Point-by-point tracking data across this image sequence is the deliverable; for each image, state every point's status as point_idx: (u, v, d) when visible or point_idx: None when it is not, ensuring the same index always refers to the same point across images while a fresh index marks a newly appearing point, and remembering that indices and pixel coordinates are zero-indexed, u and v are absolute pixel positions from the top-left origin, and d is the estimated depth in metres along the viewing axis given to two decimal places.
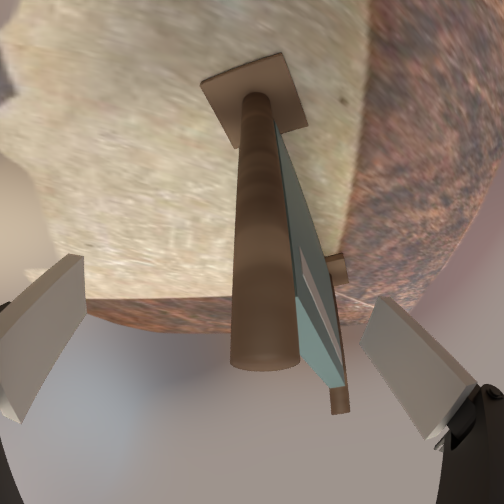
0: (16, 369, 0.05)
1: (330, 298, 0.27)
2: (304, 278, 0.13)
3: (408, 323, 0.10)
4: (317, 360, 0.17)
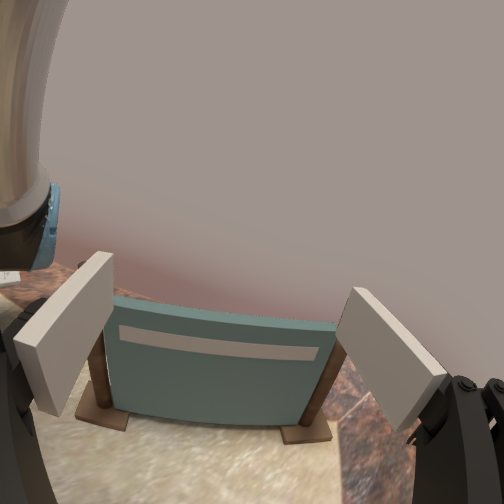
0: (57, 362, 0.06)
1: None
2: None
3: (379, 313, 0.10)
4: (207, 315, 0.23)
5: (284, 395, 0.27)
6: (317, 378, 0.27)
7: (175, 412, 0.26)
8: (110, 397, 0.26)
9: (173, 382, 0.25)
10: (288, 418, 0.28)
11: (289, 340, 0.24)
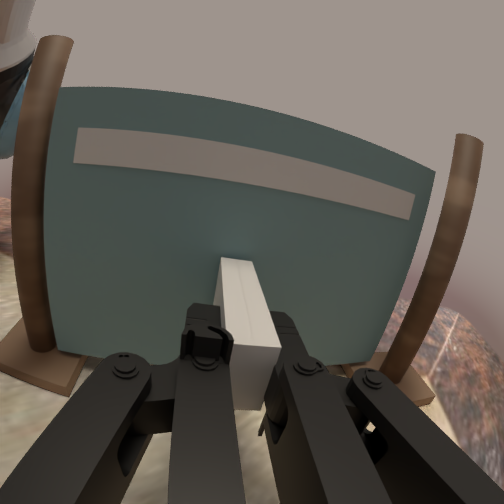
0: None
1: None
2: None
3: (243, 281, 0.11)
4: None
5: (365, 294, 0.16)
6: (409, 260, 0.16)
7: (170, 348, 0.15)
8: (49, 328, 0.13)
9: (170, 266, 0.13)
10: (361, 348, 0.18)
11: (380, 170, 0.14)
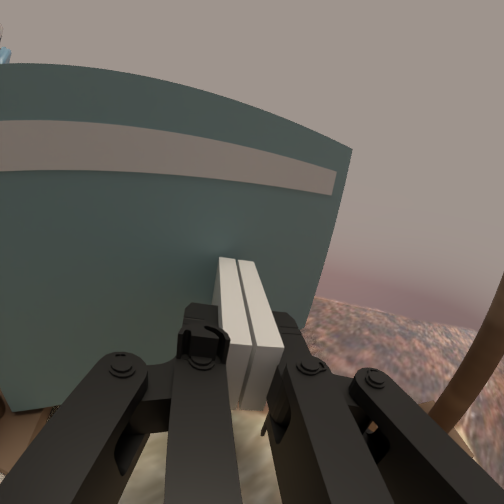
0: None
1: None
2: None
3: (245, 282, 0.11)
4: None
5: (298, 268, 0.18)
6: (331, 231, 0.20)
7: None
8: None
9: (122, 282, 0.10)
10: (297, 318, 0.21)
11: (310, 152, 0.15)
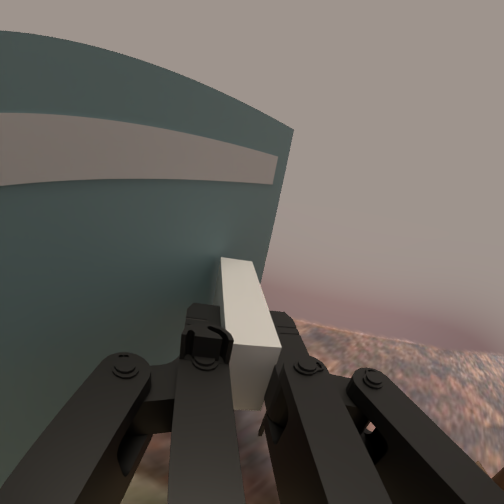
0: None
1: None
2: None
3: (243, 281, 0.11)
4: None
5: None
6: (272, 224, 0.18)
7: None
8: None
9: (35, 341, 0.06)
10: None
11: (252, 135, 0.12)
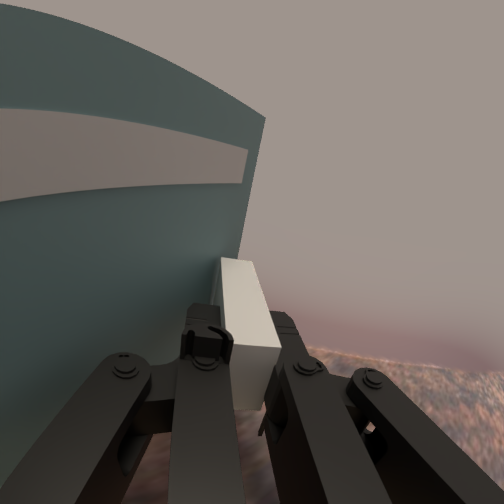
0: None
1: None
2: None
3: (243, 281, 0.11)
4: None
5: (207, 291, 0.13)
6: (241, 229, 0.15)
7: None
8: None
9: None
10: None
11: (218, 124, 0.10)
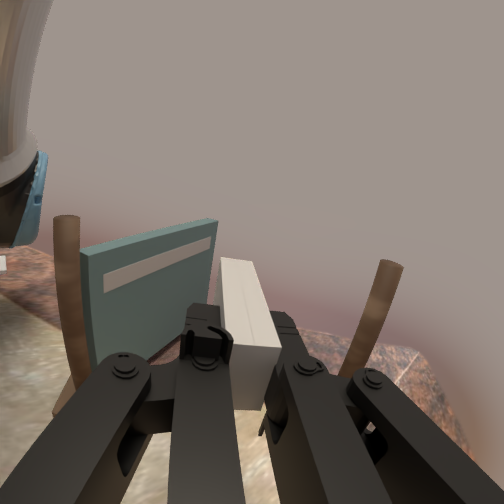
0: None
1: None
2: None
3: (243, 281, 0.11)
4: (156, 233, 0.27)
5: (198, 287, 0.37)
6: (211, 263, 0.39)
7: (144, 352, 0.28)
8: None
9: (142, 315, 0.26)
10: None
11: (199, 235, 0.33)
